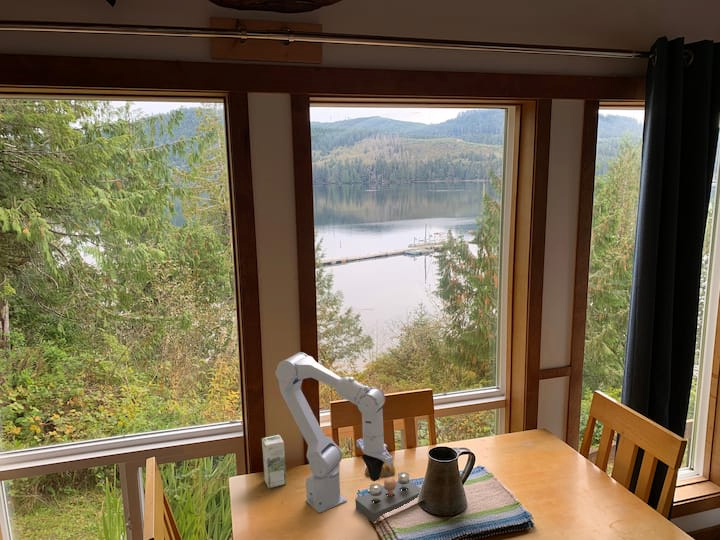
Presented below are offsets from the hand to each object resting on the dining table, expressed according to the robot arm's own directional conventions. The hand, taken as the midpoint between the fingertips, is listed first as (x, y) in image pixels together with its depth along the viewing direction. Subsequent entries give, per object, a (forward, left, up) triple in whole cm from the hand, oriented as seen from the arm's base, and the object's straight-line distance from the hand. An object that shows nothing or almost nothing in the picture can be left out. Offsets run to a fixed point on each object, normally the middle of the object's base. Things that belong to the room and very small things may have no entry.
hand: (375, 479), depth 148 cm
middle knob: (+5, 0, -7) cm, 8 cm away
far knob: (+10, 0, -7) cm, 12 cm away
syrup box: (-16, +32, -10) cm, 37 cm away
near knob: (0, 0, -7) cm, 7 cm away
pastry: (+14, +16, -10) cm, 24 cm away
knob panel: (+5, 0, -9) cm, 11 cm away
